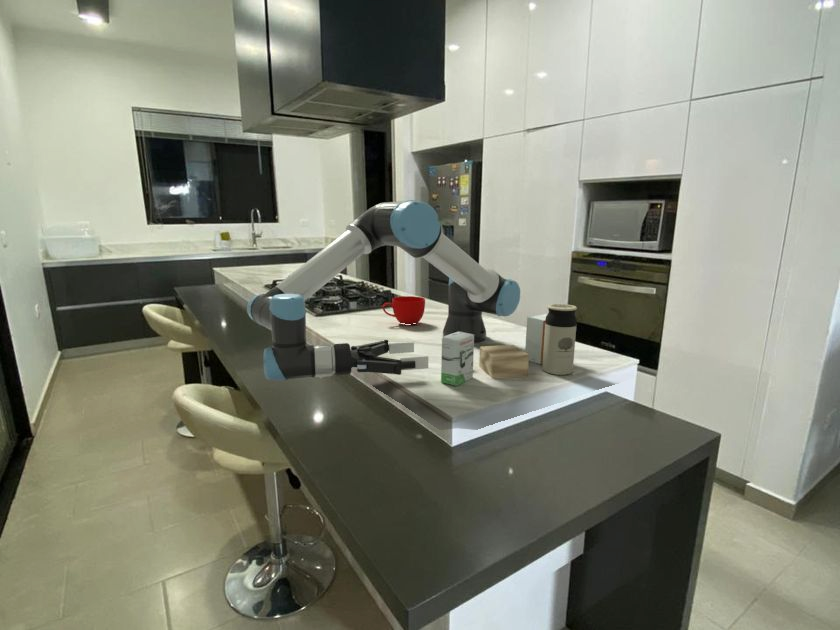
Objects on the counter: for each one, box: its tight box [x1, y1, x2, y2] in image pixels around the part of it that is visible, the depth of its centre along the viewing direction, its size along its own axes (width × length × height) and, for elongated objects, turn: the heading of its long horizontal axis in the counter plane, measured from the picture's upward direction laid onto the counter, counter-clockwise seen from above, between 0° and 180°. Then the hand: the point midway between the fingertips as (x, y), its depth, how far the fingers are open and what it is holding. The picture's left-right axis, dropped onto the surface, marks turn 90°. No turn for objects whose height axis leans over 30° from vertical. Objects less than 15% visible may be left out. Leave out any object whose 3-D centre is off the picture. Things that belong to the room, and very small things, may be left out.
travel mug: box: [541, 303, 578, 376], centre depth 120 cm, size 8×8×18 cm
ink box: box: [440, 332, 475, 387], centre depth 114 cm, size 9×5×12 cm, turn 145°
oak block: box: [478, 344, 530, 379], centre depth 121 cm, size 10×10×6 cm
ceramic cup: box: [382, 295, 426, 324], centre depth 175 cm, size 13×17×10 cm
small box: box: [524, 313, 548, 365], centre depth 131 cm, size 8×6×13 cm
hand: (420, 354), depth 111 cm, fingers open, 13 cm apart
